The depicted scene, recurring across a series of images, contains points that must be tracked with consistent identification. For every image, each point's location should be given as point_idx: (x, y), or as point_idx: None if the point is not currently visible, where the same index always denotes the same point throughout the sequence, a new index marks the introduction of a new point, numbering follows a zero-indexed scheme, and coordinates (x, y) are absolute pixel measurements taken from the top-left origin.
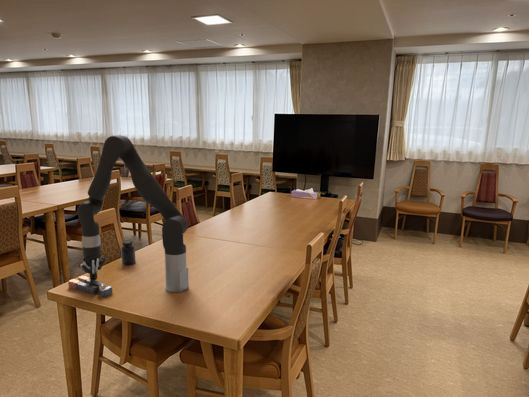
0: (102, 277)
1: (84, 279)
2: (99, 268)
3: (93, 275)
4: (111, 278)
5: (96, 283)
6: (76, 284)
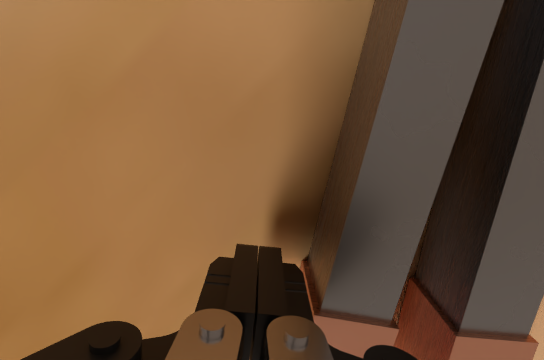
0: (89, 280)
1: (392, 335)
2: (115, 348)
3: (284, 298)
4: (49, 162)
5: (458, 60)
6: (517, 323)
